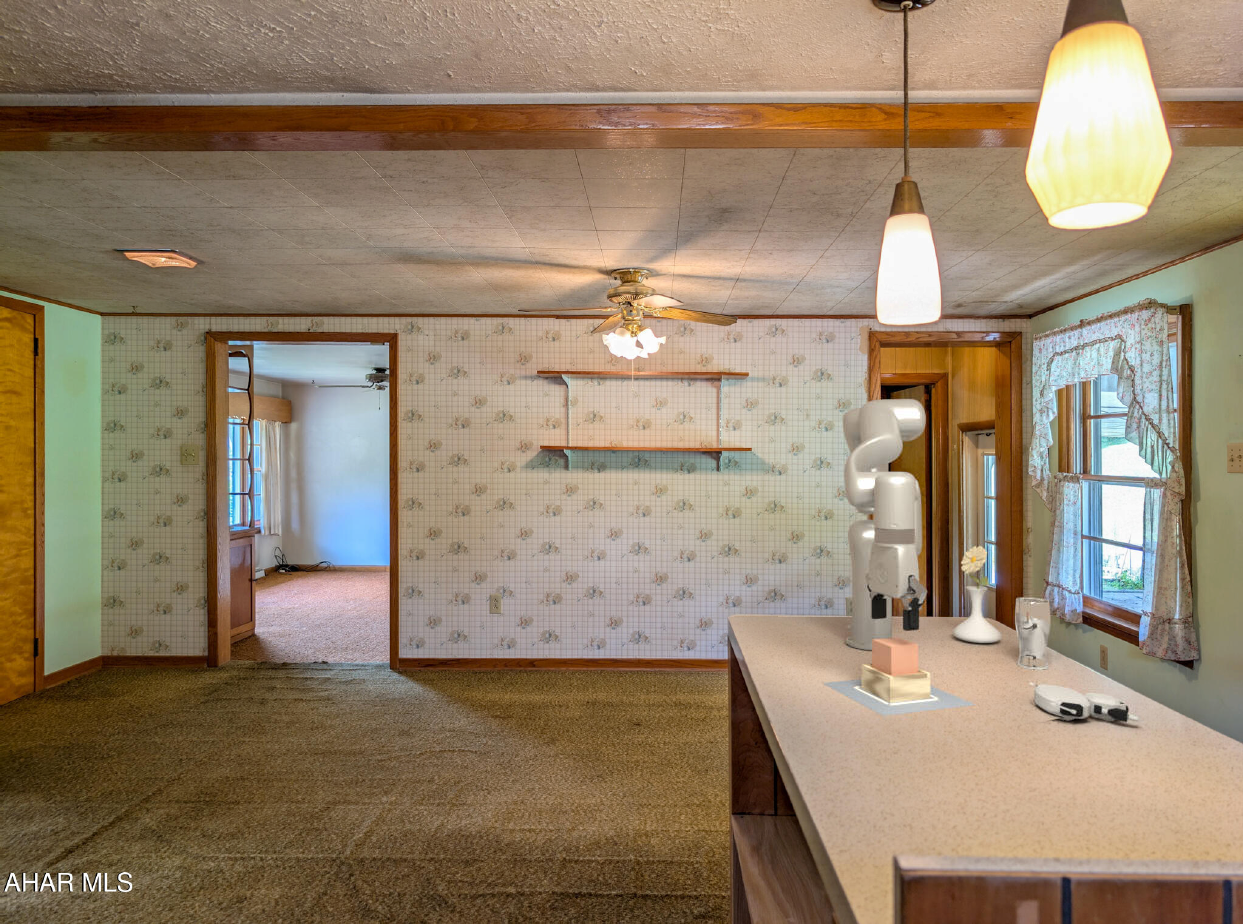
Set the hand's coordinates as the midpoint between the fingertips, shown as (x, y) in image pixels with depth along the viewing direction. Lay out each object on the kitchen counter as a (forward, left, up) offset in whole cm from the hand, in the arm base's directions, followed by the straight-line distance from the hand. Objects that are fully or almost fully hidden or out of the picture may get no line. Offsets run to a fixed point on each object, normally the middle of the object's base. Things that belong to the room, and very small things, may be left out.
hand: (894, 624), depth 142 cm
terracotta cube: (0, 0, -9) cm, 9 cm away
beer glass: (-10, +44, -15) cm, 47 cm away
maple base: (0, 0, -13) cm, 13 cm away
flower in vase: (-32, +49, -15) cm, 60 cm away
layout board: (0, 0, -14) cm, 14 cm away
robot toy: (+19, +26, -15) cm, 35 cm away
